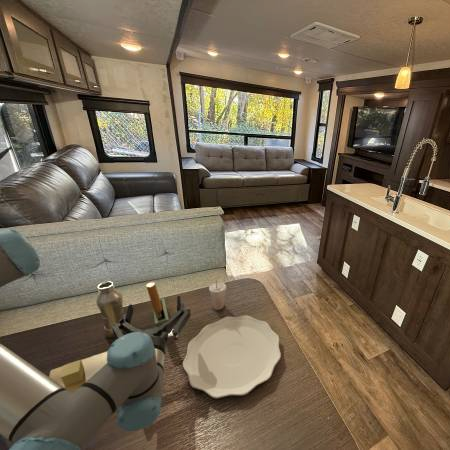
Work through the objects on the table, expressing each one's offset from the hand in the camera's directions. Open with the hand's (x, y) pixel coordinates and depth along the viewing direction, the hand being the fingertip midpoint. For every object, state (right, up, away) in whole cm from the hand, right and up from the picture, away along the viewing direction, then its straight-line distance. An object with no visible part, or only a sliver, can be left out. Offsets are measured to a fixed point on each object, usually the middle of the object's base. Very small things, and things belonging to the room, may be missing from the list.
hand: (155, 303), depth 80 cm
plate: (+26, -17, -1) cm, 31 cm away
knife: (-3, -10, +9) cm, 13 cm away
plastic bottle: (-14, -11, +3) cm, 19 cm away
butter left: (-15, -16, -13) cm, 25 cm away
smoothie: (+14, -7, +19) cm, 25 cm away
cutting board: (-12, -17, -11) cm, 23 cm away
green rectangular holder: (-3, -10, +9) cm, 13 cm away
